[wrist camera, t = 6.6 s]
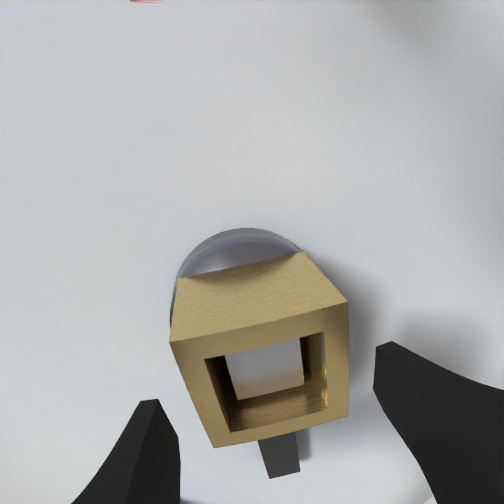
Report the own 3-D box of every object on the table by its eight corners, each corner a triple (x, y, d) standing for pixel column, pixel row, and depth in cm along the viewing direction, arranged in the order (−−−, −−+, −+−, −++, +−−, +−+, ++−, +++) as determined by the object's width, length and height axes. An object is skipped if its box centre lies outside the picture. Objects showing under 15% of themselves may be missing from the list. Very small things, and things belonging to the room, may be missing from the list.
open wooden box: (313, 351, 15) (347, 415, 11) (208, 375, 15) (213, 448, 10) (303, 251, 13) (348, 301, 9) (178, 278, 13) (169, 342, 9)
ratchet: (323, 446, 22) (346, 500, 16) (235, 467, 21) (245, 526, 16) (305, 214, 15) (358, 252, 10) (156, 246, 15) (134, 301, 9)
